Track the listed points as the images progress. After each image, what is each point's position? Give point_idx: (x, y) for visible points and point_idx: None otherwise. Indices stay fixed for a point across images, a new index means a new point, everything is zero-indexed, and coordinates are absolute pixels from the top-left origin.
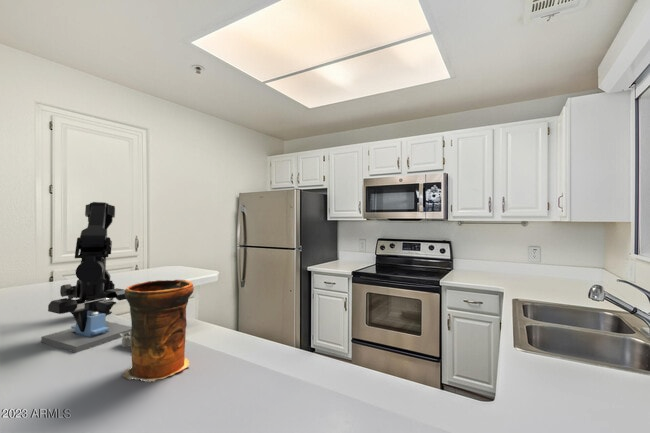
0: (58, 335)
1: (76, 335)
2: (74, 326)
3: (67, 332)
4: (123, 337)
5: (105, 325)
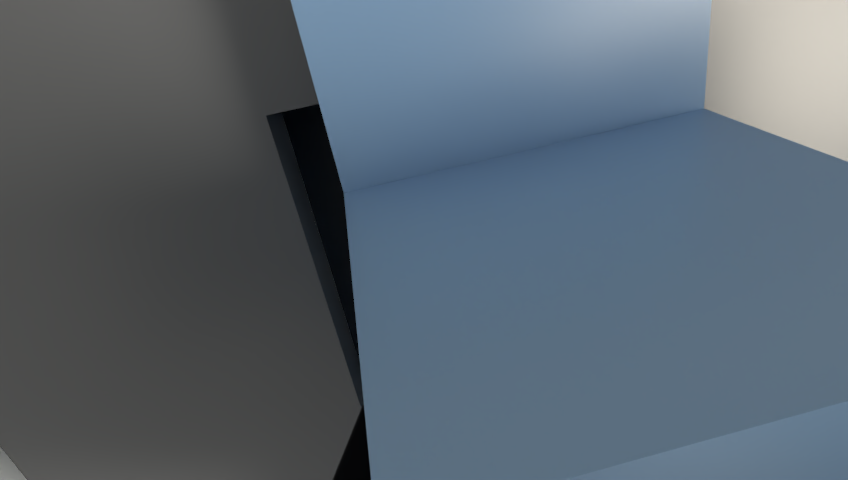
0: (5, 111)
1: (302, 360)
2: (343, 105)
3: (206, 27)
4: None
5: (839, 158)
